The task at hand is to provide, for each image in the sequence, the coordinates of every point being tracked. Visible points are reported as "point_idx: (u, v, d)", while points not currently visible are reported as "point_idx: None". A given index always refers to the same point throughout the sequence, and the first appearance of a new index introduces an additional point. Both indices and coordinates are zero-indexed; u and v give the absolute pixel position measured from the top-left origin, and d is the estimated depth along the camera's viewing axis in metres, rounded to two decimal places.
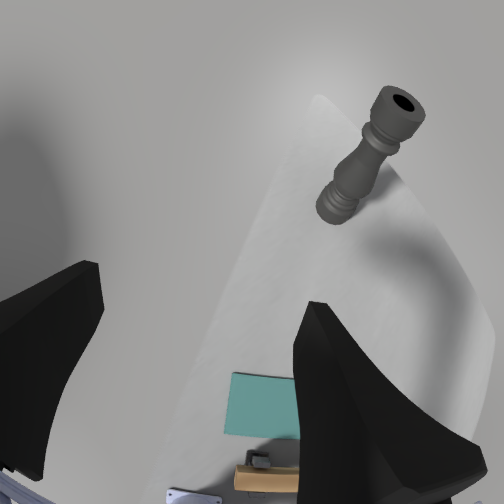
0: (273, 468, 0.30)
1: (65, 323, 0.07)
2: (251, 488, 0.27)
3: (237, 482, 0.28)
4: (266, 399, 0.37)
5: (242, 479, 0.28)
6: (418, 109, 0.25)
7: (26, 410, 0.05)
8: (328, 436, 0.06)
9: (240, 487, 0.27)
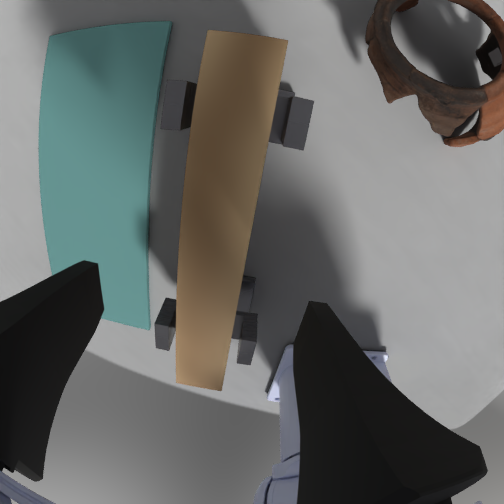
0: None
1: (65, 322, 0.07)
2: (217, 371, 0.16)
3: (201, 386, 0.16)
4: None
5: (193, 379, 0.16)
6: None
7: (26, 410, 0.05)
8: (328, 436, 0.06)
9: (214, 384, 0.16)
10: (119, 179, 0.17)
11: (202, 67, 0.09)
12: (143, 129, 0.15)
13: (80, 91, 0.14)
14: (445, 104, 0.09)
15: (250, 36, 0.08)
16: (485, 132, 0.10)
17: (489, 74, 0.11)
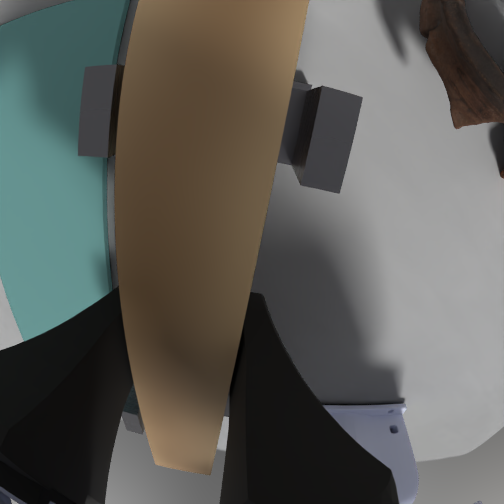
0: None
1: None
2: (203, 462, 0.10)
3: (186, 470, 0.11)
4: (38, 308, 0.15)
5: (175, 464, 0.11)
6: None
7: (95, 441, 0.05)
8: (234, 431, 0.05)
9: (201, 470, 0.11)
10: (68, 213, 0.12)
11: (134, 31, 0.04)
12: None
13: (18, 96, 0.09)
14: None
15: None
16: None
17: None
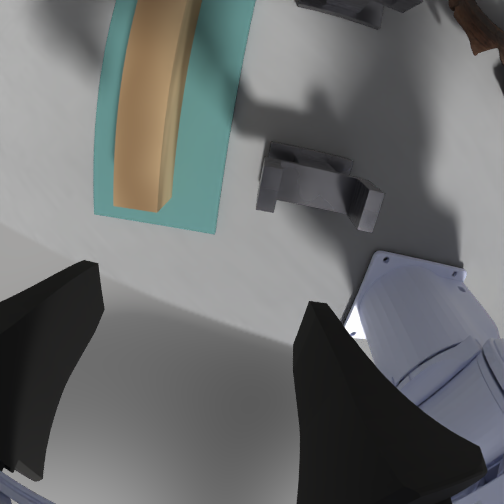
0: None
1: (65, 323, 0.07)
2: (151, 177, 0.15)
3: (137, 206, 0.16)
4: None
5: (129, 196, 0.15)
6: None
7: (26, 410, 0.05)
8: (328, 436, 0.06)
9: (149, 201, 0.15)
10: (211, 42, 0.14)
11: None
12: None
13: None
14: None
15: None
16: None
17: None
